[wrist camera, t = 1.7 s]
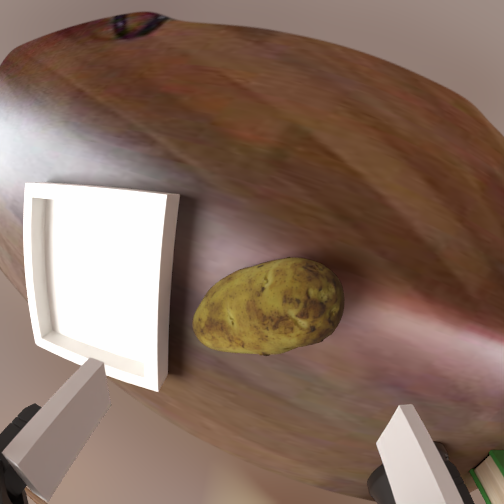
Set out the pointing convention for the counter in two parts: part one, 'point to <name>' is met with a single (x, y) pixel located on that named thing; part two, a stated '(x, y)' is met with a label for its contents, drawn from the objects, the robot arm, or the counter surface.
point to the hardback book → (491, 477)
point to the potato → (270, 308)
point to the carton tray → (101, 275)
